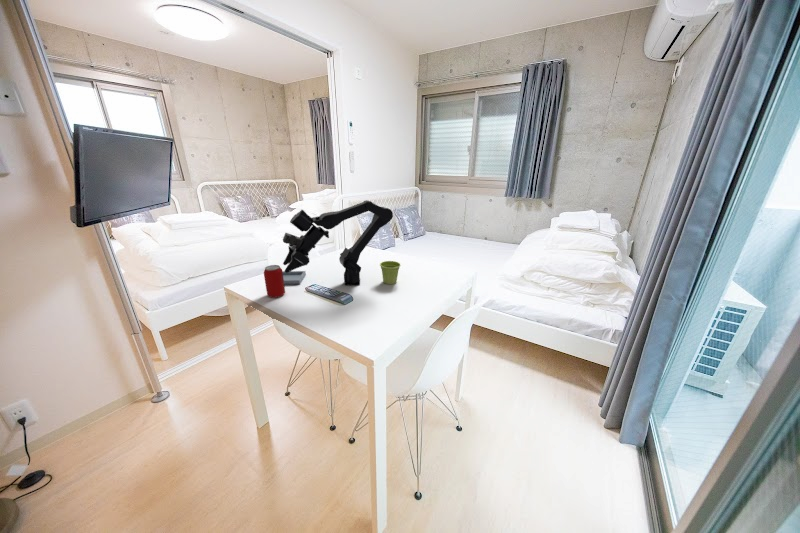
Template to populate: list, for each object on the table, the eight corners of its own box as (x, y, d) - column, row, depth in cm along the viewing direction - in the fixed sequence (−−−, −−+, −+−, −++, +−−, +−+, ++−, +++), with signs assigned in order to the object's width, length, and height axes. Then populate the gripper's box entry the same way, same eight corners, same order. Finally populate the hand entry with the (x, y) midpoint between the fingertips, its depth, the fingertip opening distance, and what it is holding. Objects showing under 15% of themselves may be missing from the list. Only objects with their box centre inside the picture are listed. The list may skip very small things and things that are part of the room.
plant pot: (399, 278, 130) (400, 260, 127) (400, 286, 121) (400, 267, 118) (380, 278, 130) (380, 260, 127) (379, 286, 121) (379, 267, 118)
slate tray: (305, 274, 132) (305, 270, 131) (299, 284, 121) (299, 280, 120) (281, 275, 131) (280, 271, 130) (272, 285, 120) (272, 280, 119)
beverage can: (288, 291, 114) (285, 264, 110) (280, 299, 107) (276, 270, 103) (273, 290, 114) (269, 264, 110) (264, 298, 108) (259, 269, 104)
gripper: (292, 221, 113) (266, 249, 112) (297, 230, 97) (267, 263, 97) (313, 238, 119) (289, 265, 118) (321, 249, 103) (293, 280, 103)
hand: (284, 268), depth 109 cm, fingers open, 9 cm apart
